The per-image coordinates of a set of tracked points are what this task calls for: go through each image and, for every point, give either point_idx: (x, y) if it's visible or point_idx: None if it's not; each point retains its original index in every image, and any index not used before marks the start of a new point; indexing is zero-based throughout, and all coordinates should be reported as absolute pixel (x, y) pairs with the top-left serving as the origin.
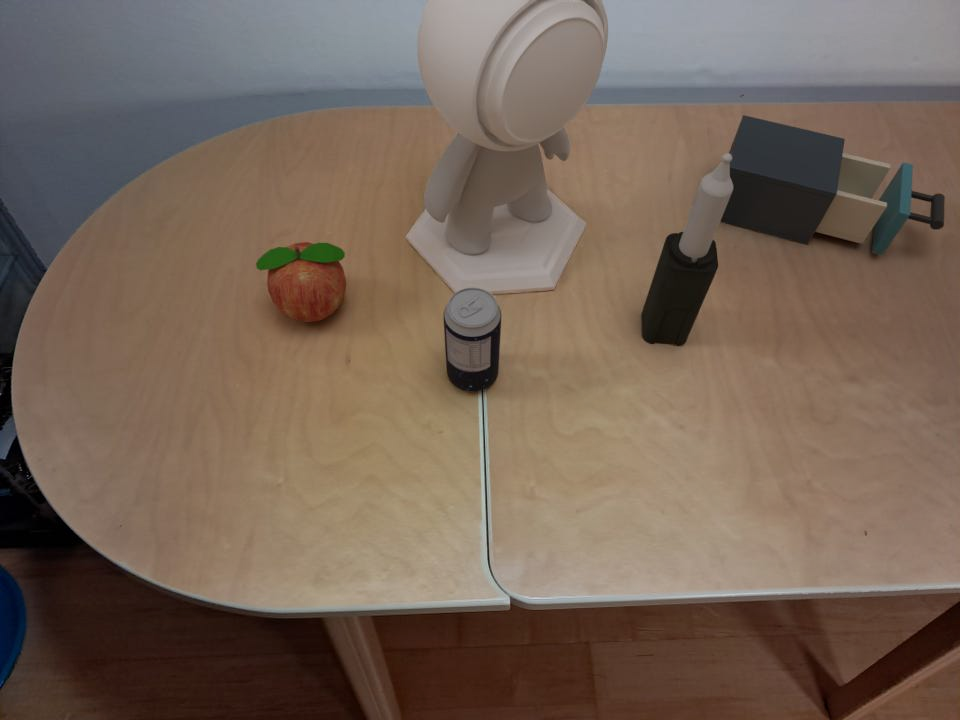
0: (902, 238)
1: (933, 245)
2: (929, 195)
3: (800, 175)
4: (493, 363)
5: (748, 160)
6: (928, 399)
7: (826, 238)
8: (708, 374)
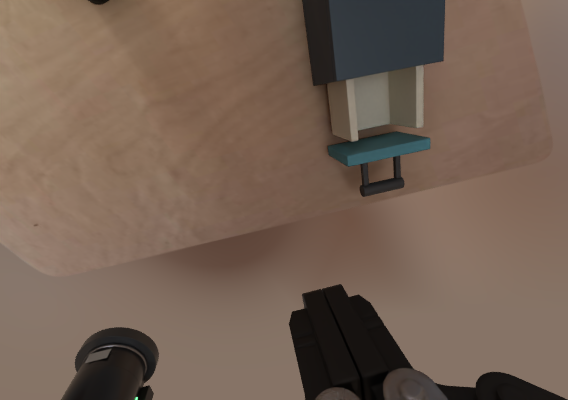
0: None
1: None
2: (399, 174)
3: (349, 24)
4: None
5: None
6: (196, 229)
7: None
8: (78, 47)
